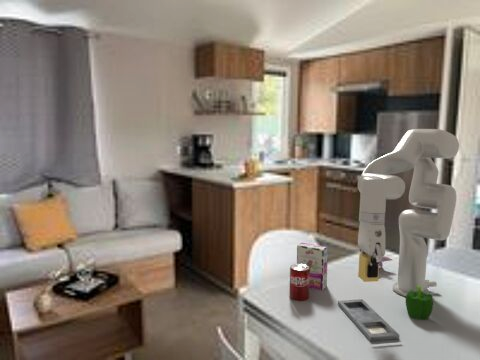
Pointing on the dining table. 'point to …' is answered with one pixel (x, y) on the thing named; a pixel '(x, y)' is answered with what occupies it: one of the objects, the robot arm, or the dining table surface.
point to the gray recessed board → (368, 321)
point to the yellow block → (365, 268)
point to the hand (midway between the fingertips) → (368, 273)
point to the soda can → (299, 282)
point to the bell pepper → (419, 304)
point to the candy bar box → (314, 263)
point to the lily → (383, 260)
